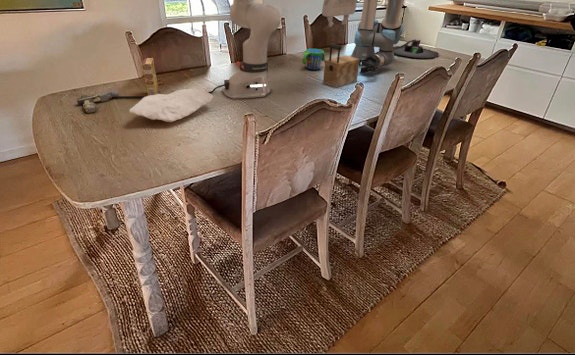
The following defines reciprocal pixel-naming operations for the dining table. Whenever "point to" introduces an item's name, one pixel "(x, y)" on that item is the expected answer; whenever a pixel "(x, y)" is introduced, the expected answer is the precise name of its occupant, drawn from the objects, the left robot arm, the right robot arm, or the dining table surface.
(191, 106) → the crumpled cloth
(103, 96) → the handgun
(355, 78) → the chest
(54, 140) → the dining table surface
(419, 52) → the dark round disc
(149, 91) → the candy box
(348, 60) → the lid
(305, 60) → the snack cup
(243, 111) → the dining table surface
